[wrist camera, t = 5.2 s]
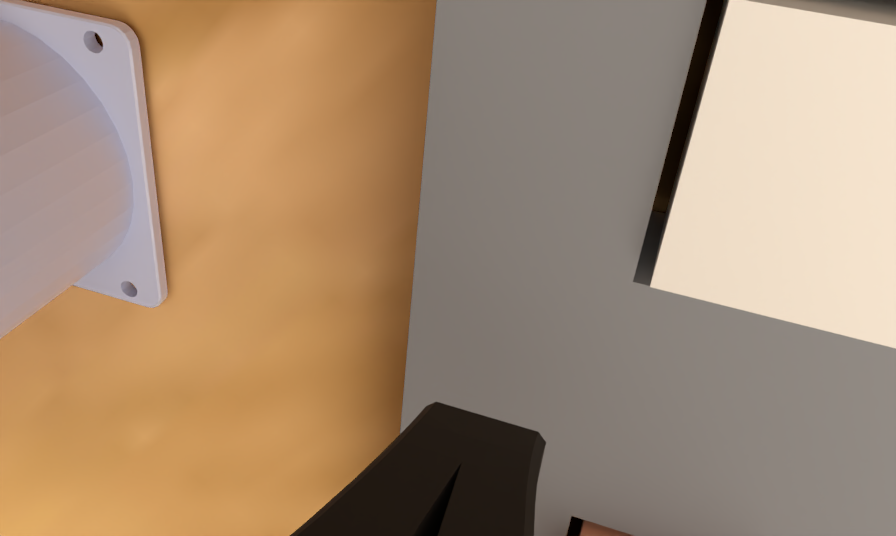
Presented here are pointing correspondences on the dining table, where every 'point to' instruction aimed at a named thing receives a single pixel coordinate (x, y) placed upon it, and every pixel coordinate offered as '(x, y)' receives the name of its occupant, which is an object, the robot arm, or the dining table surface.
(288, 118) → the dining table surface
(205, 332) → the dining table surface
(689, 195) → the white key
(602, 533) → the terracotta key
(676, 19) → the key console
